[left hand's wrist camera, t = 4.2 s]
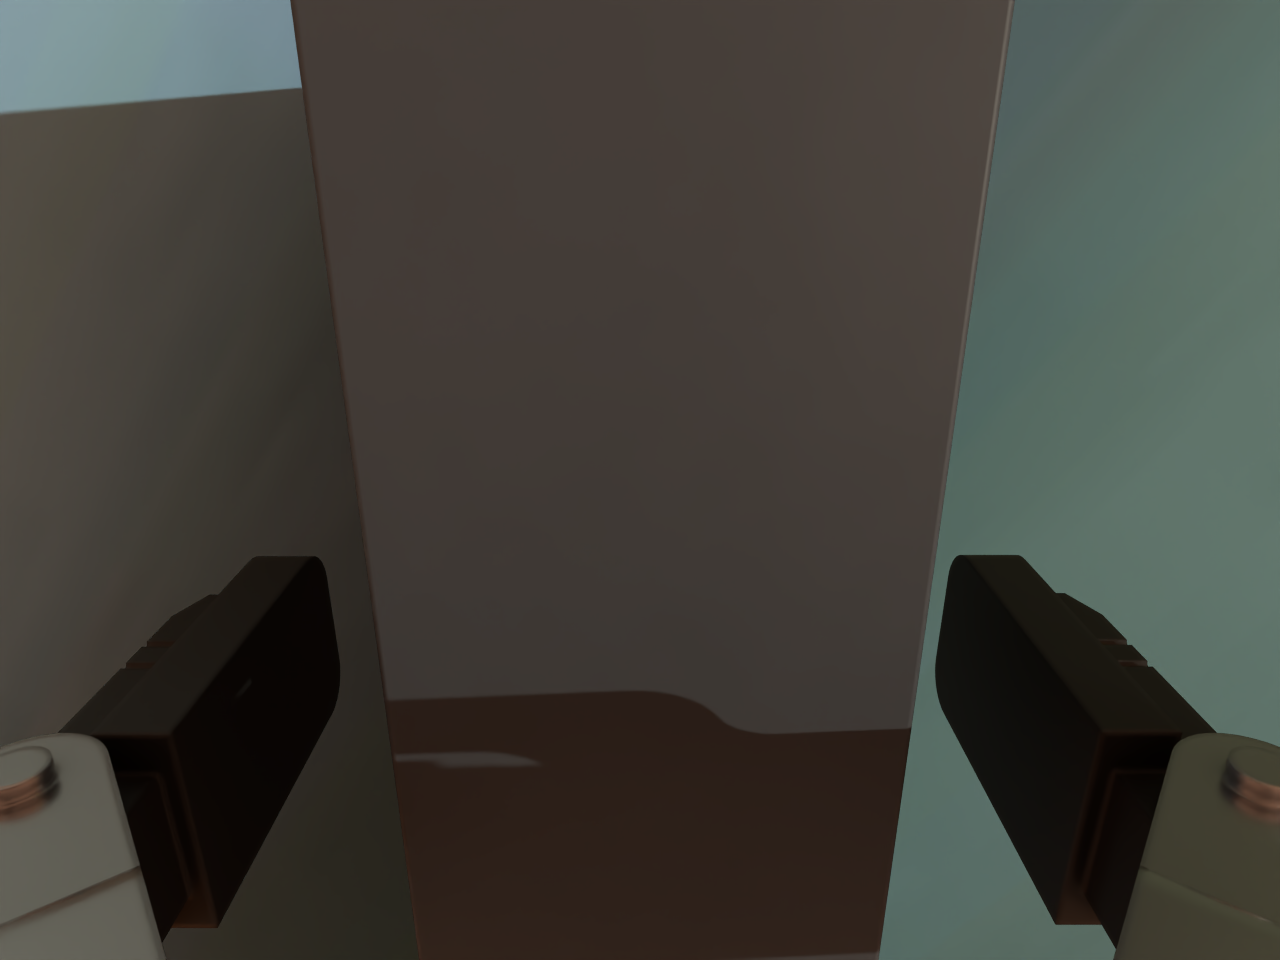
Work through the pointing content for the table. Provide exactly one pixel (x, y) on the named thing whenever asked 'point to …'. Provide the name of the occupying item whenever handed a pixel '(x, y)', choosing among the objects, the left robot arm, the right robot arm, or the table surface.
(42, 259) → the table surface
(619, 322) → the bar
